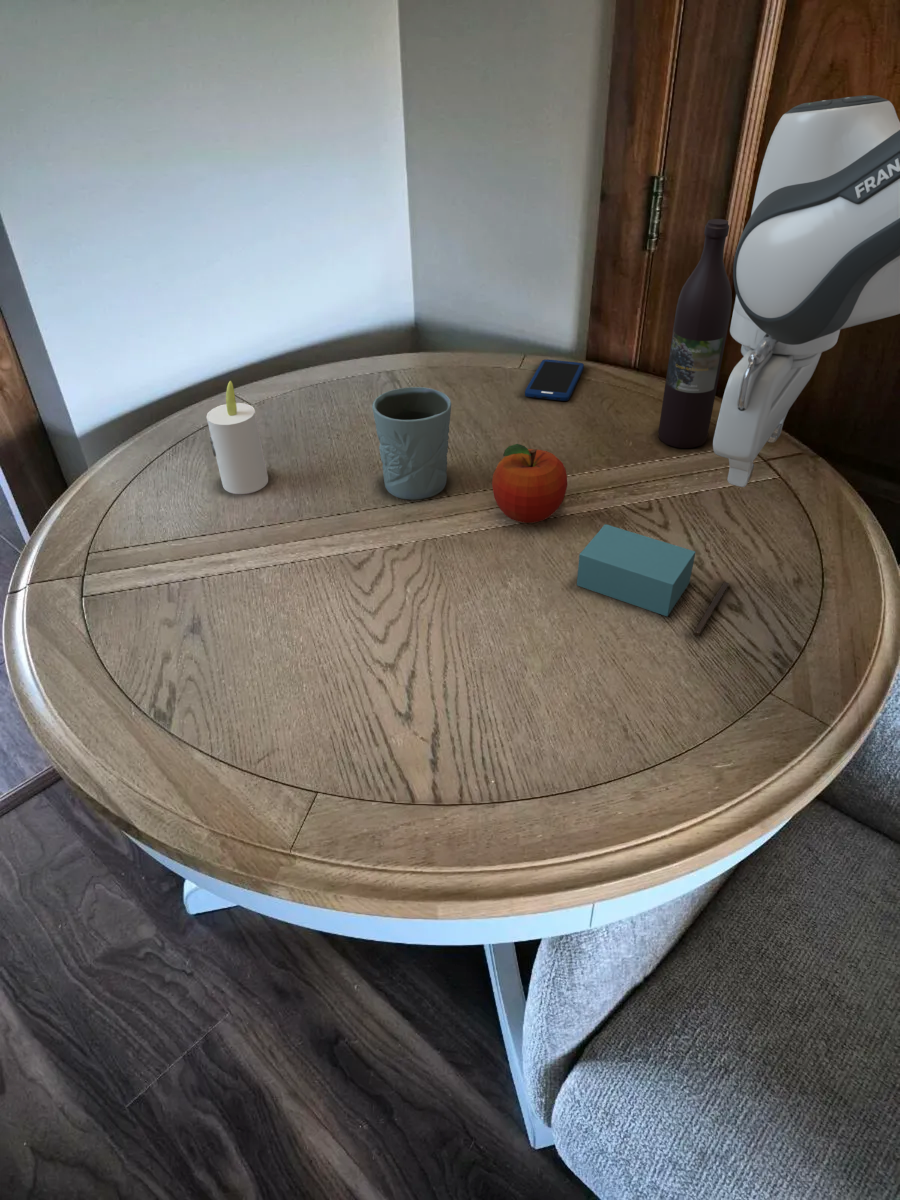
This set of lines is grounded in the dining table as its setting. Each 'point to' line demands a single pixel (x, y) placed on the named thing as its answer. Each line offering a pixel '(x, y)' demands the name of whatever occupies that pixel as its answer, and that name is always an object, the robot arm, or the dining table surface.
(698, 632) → the stop strip
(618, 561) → the teal labeled box
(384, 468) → the blue grey cup
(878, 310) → the robot arm
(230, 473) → the candle
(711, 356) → the wine bottle
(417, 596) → the dining table surface
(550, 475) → the fruit
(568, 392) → the cell phone
